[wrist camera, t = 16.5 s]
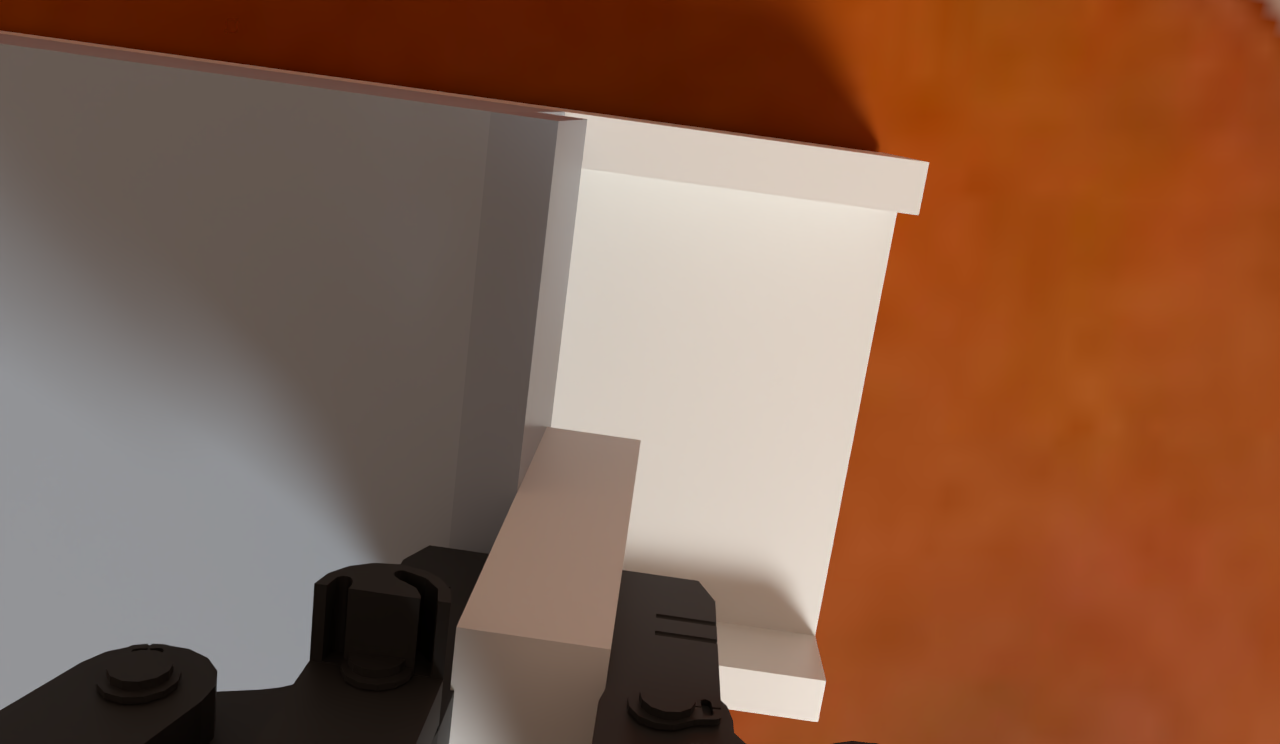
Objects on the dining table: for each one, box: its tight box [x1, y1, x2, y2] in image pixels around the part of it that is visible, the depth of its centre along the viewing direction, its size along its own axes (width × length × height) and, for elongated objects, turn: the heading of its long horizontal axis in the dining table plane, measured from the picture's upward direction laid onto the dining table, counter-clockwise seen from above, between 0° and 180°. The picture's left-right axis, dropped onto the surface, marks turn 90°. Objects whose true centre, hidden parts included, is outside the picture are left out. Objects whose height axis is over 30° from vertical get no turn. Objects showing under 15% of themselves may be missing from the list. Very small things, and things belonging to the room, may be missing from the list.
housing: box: [0, 30, 929, 722], centre depth 23 cm, size 25×12×4 cm, turn 82°
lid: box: [0, 34, 587, 710], centre depth 17 cm, size 15×12×8 cm
